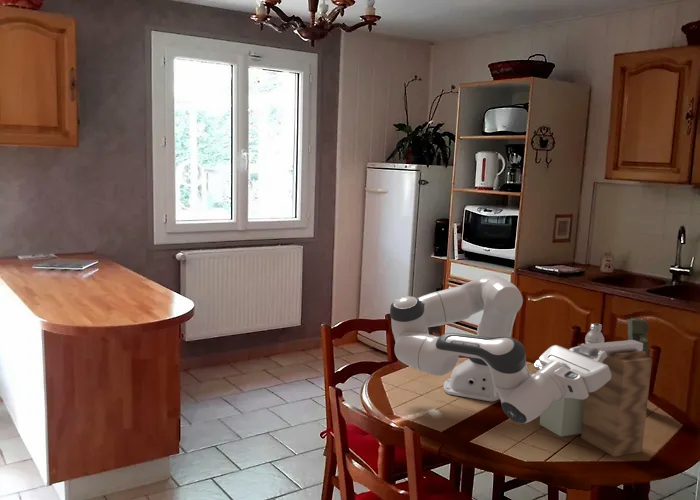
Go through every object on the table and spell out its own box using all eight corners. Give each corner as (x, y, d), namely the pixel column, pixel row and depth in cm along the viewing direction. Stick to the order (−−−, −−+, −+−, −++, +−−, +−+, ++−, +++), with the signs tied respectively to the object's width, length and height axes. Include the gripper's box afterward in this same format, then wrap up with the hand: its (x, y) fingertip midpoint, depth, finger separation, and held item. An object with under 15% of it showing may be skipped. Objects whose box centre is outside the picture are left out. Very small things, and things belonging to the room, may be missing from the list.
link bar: (588, 359, 163) (589, 348, 163) (578, 355, 166) (579, 344, 166) (642, 354, 171) (643, 343, 170) (631, 350, 174) (632, 339, 173)
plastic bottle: (599, 381, 226) (604, 327, 224) (579, 377, 230) (584, 324, 227) (602, 377, 232) (607, 324, 229) (583, 373, 235) (588, 321, 233)
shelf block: (560, 436, 177) (565, 382, 175) (539, 424, 185) (544, 372, 183) (593, 431, 182) (598, 378, 180) (571, 419, 190) (576, 368, 188)
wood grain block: (614, 456, 166) (624, 357, 162) (581, 438, 177) (590, 344, 173) (641, 451, 170) (652, 354, 166) (607, 433, 181) (617, 342, 177)
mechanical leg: (651, 416, 193) (655, 318, 196) (626, 413, 194) (630, 316, 198) (639, 410, 207) (643, 319, 210) (615, 407, 208) (620, 317, 211)
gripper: (534, 375, 173) (570, 347, 176) (589, 402, 154) (628, 370, 158) (527, 357, 171) (563, 329, 174) (582, 382, 152) (621, 350, 156)
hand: (595, 349), depth 166 cm, fingers open, 5 cm apart
